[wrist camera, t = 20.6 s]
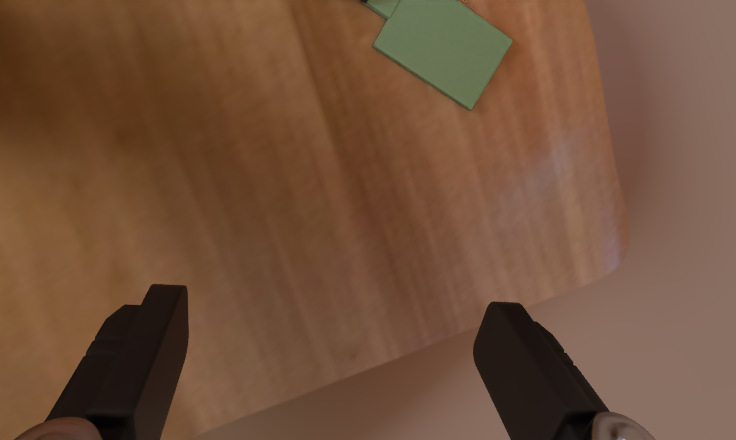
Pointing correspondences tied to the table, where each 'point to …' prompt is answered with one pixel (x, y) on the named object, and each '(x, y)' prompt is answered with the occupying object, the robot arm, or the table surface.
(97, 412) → the robot arm
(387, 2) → the spatula
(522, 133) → the table surface
